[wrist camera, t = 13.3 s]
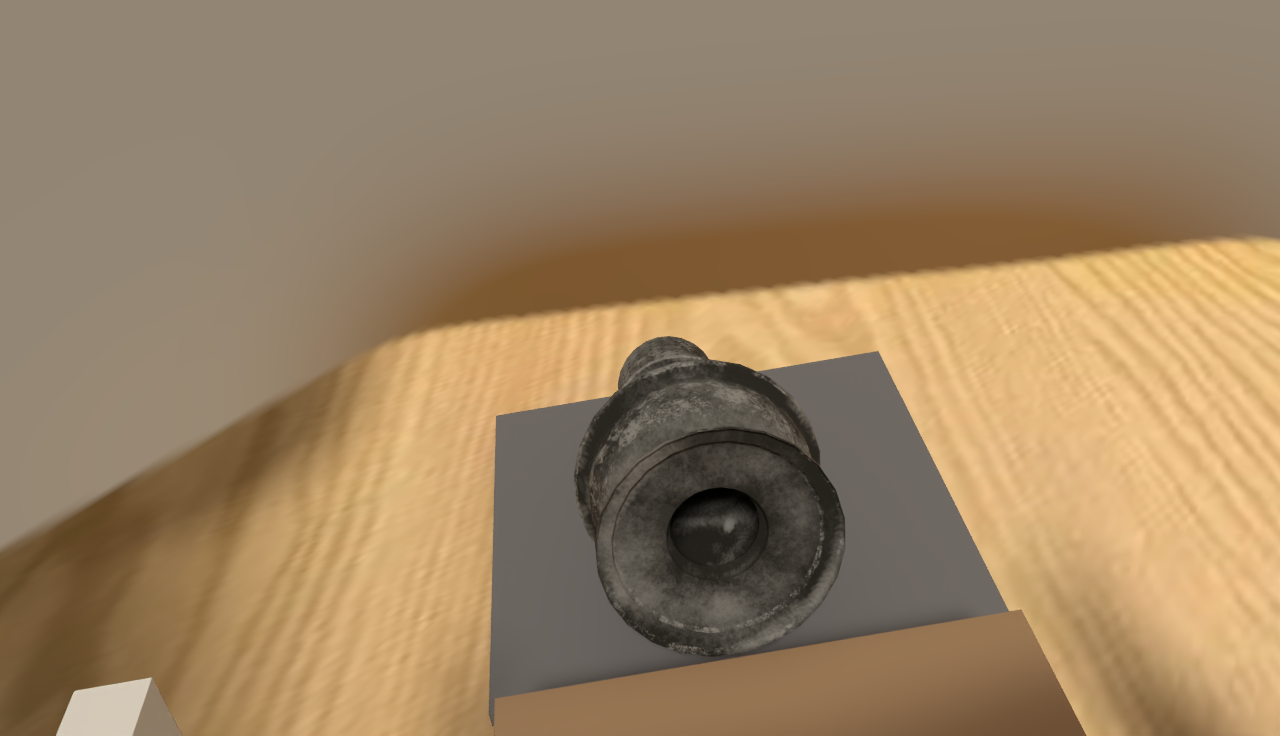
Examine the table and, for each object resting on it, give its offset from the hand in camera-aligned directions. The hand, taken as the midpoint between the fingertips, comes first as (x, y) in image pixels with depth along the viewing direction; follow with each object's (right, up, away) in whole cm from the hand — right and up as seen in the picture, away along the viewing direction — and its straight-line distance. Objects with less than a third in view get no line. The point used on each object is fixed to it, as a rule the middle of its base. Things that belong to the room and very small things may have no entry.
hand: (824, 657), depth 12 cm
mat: (0, -1, +20) cm, 20 cm away
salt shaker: (0, -1, +13) cm, 13 cm away
